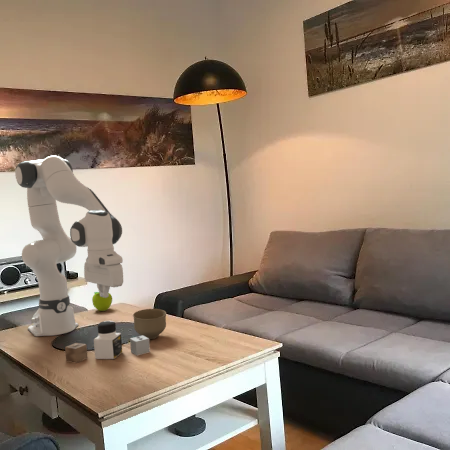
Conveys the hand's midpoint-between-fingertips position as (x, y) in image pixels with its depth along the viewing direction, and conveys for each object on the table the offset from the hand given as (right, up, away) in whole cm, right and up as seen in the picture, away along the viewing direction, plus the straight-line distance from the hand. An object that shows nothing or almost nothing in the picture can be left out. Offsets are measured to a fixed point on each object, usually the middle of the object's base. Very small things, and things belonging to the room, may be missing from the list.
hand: (104, 296), depth 171 cm
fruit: (-17, -17, +67) cm, 71 cm away
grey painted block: (+12, -20, +4) cm, 24 cm away
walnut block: (-9, -22, 0) cm, 24 cm away
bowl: (+13, -19, +19) cm, 30 cm away
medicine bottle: (+1, -21, +2) cm, 21 cm away
